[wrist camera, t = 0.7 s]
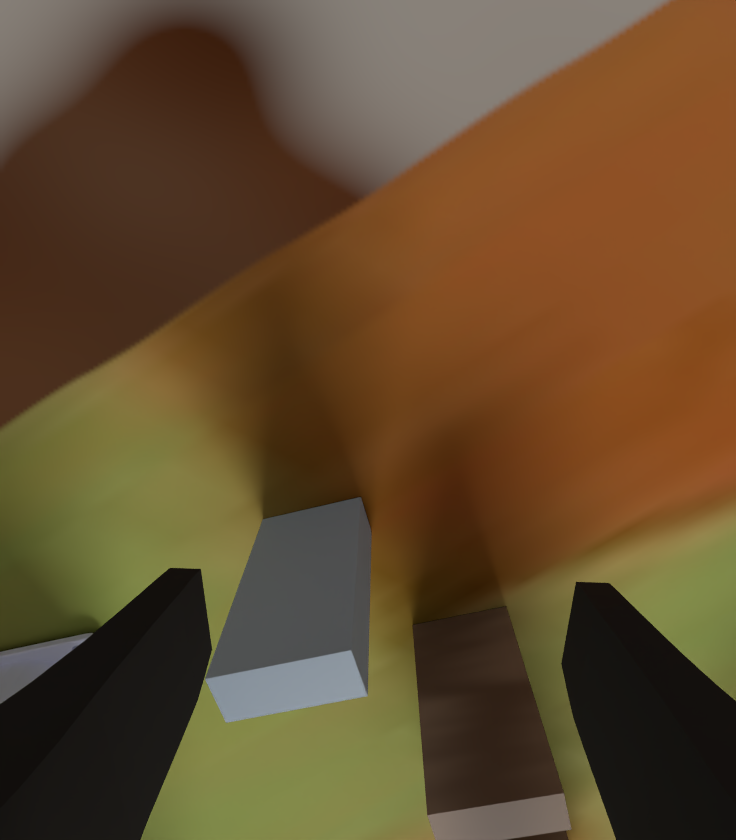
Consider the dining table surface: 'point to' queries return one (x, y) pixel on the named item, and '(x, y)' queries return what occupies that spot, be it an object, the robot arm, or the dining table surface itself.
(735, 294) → the dining table surface
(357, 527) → the domino
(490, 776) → the domino
